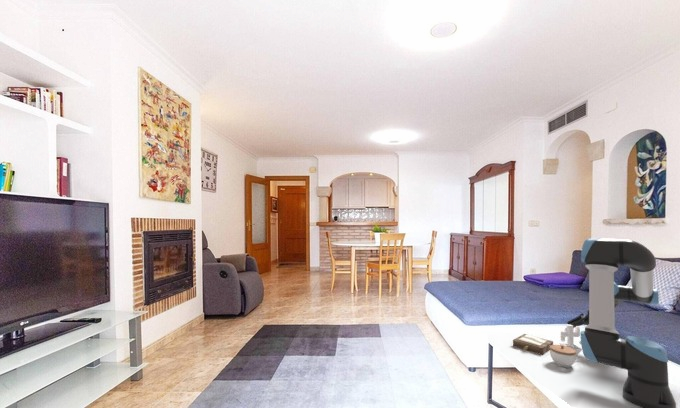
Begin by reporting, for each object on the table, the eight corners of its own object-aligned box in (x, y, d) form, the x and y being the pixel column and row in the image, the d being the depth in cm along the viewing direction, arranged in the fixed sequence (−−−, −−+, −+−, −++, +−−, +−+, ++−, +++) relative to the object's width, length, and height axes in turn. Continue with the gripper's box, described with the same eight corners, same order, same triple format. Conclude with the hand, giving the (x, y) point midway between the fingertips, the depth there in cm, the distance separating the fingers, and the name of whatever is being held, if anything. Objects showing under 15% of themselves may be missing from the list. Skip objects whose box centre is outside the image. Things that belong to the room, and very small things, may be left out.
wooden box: (540, 356, 166) (540, 348, 167) (510, 347, 178) (510, 340, 178) (553, 347, 179) (553, 340, 179) (524, 340, 190) (524, 333, 191)
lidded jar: (581, 370, 151) (580, 350, 152) (555, 368, 153) (555, 348, 154) (569, 361, 162) (569, 342, 162) (546, 359, 164) (545, 340, 164)
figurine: (557, 350, 176) (556, 322, 176) (575, 350, 175) (574, 323, 176) (565, 355, 168) (565, 326, 169) (584, 356, 168) (583, 327, 169)
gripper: (624, 324, 161) (595, 354, 160) (586, 310, 185) (561, 336, 185) (613, 313, 161) (584, 343, 160) (577, 301, 186) (552, 327, 185)
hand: (571, 339), depth 173 cm, fingers open, 13 cm apart
